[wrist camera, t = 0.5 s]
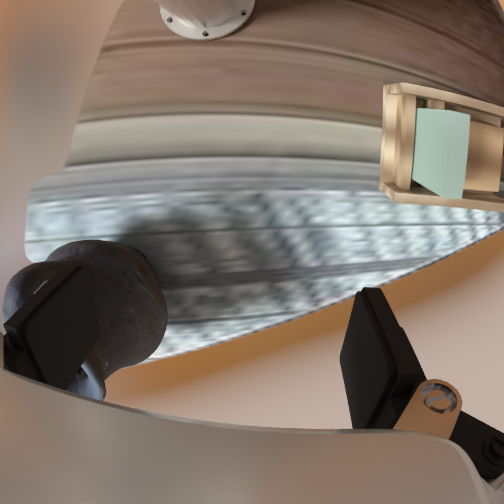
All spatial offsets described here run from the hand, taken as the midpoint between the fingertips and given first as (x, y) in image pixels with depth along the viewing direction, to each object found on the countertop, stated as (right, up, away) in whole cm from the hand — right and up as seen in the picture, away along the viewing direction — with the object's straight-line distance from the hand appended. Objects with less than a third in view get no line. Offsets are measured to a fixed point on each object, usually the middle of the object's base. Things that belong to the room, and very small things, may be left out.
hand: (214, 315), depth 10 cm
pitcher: (-20, -1, +40) cm, 44 cm away
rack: (+29, +17, +28) cm, 43 cm away
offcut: (+32, +15, +23) cm, 42 cm away
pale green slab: (+22, +17, +27) cm, 39 cm away
